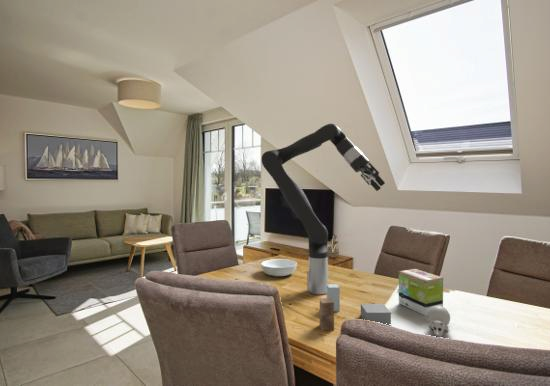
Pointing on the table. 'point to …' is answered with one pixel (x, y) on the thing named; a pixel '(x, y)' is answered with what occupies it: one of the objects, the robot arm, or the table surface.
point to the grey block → (376, 313)
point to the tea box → (420, 290)
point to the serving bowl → (279, 267)
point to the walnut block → (326, 314)
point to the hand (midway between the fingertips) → (380, 187)
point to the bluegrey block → (334, 295)
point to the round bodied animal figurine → (439, 320)
